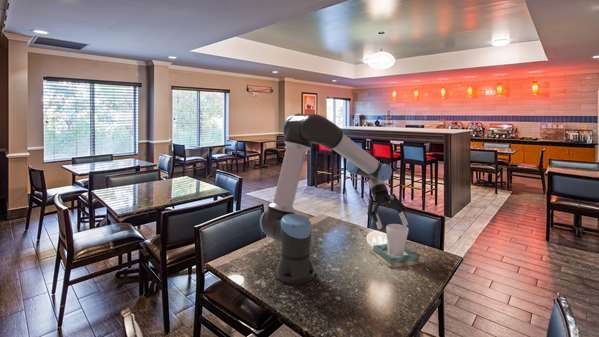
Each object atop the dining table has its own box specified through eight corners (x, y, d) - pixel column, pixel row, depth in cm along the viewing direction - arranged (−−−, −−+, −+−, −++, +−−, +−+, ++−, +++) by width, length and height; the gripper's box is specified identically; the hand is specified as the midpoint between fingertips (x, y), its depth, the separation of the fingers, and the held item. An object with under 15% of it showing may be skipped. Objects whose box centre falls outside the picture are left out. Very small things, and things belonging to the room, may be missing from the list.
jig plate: (389, 268, 137) (390, 260, 136) (369, 251, 153) (369, 244, 152) (423, 262, 142) (424, 255, 141) (400, 247, 158) (400, 240, 157)
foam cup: (409, 259, 142) (411, 231, 140) (387, 259, 143) (389, 231, 140) (402, 250, 152) (404, 224, 150) (382, 250, 152) (384, 223, 150)
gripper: (396, 189, 168) (412, 227, 156) (352, 192, 160) (365, 232, 149) (403, 181, 162) (420, 220, 150) (358, 184, 154) (372, 225, 143)
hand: (393, 226), depth 149 cm, fingers open, 13 cm apart
